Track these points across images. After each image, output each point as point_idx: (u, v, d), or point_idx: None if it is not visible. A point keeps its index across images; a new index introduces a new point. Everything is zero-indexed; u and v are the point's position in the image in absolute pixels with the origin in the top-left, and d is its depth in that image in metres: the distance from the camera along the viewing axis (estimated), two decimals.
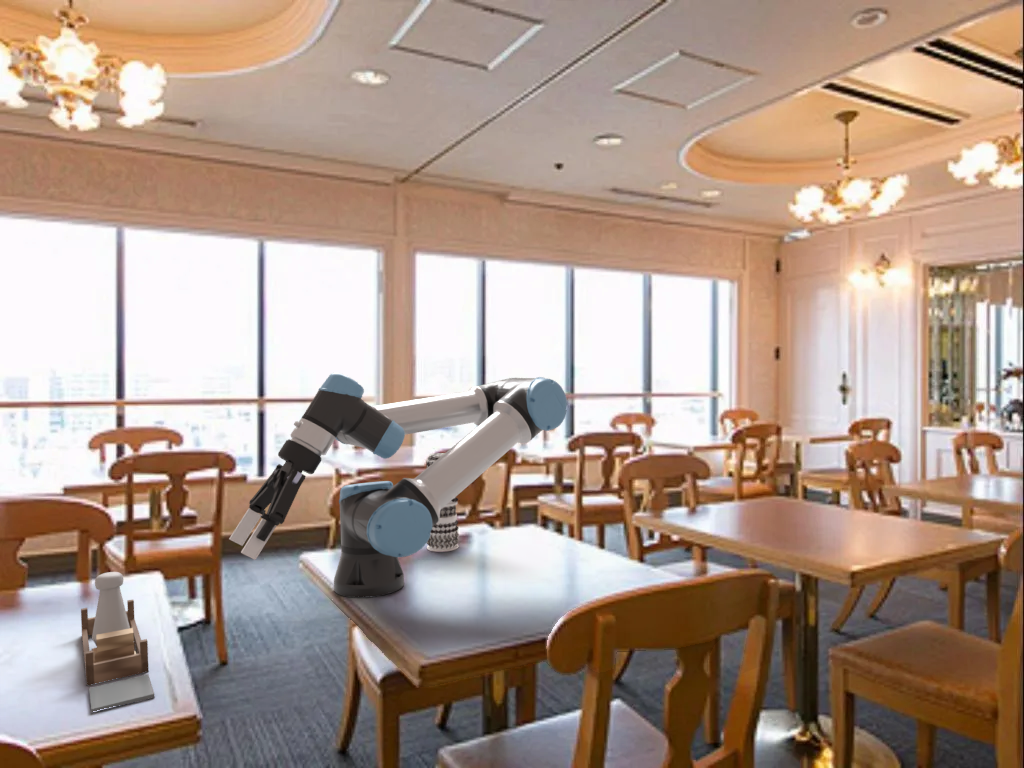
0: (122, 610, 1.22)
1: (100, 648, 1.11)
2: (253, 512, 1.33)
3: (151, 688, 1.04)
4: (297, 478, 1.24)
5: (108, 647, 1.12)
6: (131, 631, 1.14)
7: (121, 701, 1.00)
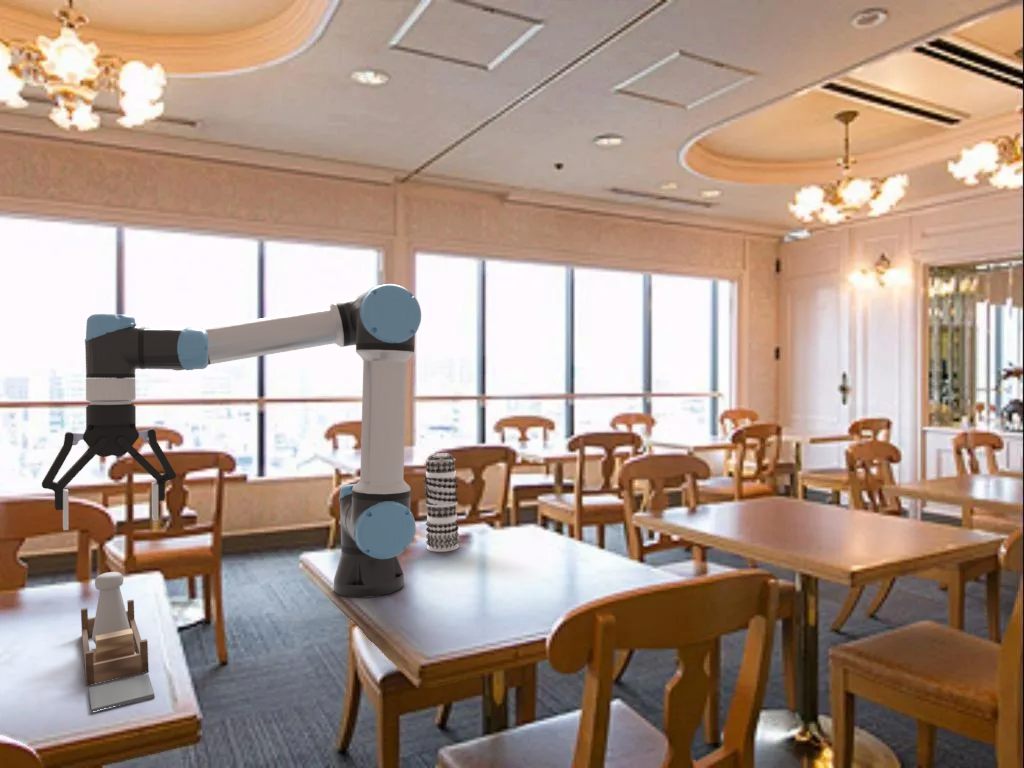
0: (122, 610, 1.22)
1: (100, 649, 1.11)
2: (152, 484, 1.25)
3: (151, 688, 1.04)
4: (64, 438, 1.17)
5: (108, 648, 1.12)
6: (130, 631, 1.14)
7: (121, 701, 1.00)
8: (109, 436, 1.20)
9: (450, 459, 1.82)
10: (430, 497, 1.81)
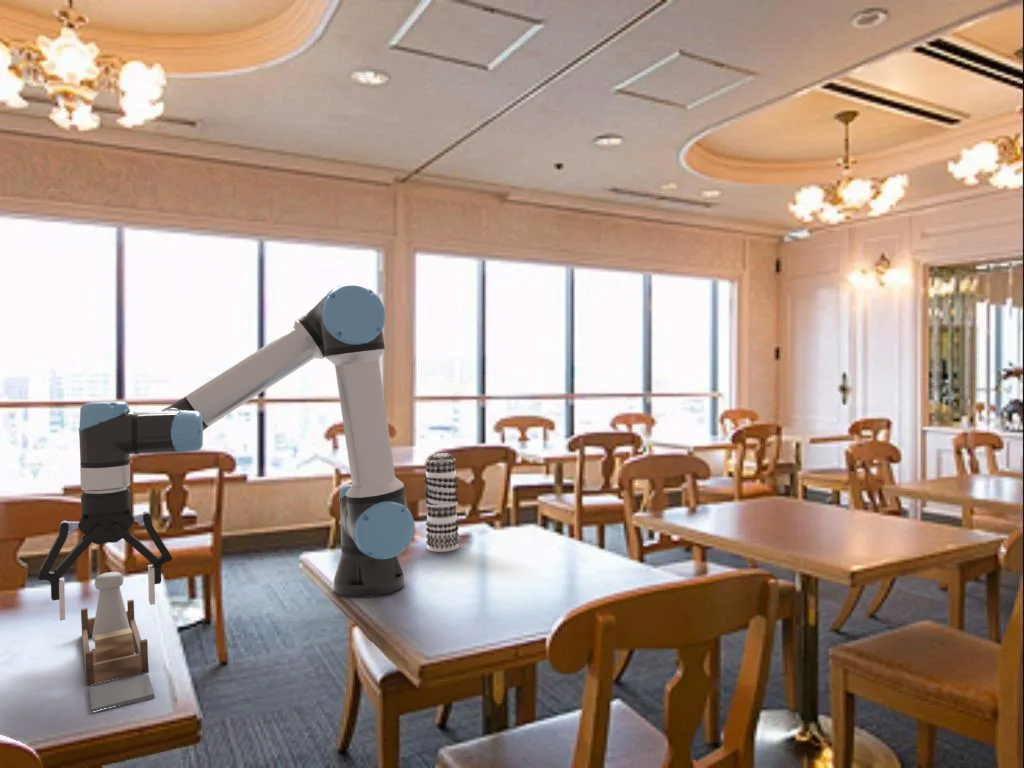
0: (122, 610, 1.22)
1: (99, 648, 1.11)
2: (148, 568, 1.26)
3: (151, 688, 1.04)
4: None
5: (108, 647, 1.12)
6: (130, 631, 1.14)
7: (121, 701, 1.00)
8: (104, 523, 1.20)
9: (450, 459, 1.82)
10: (430, 497, 1.81)
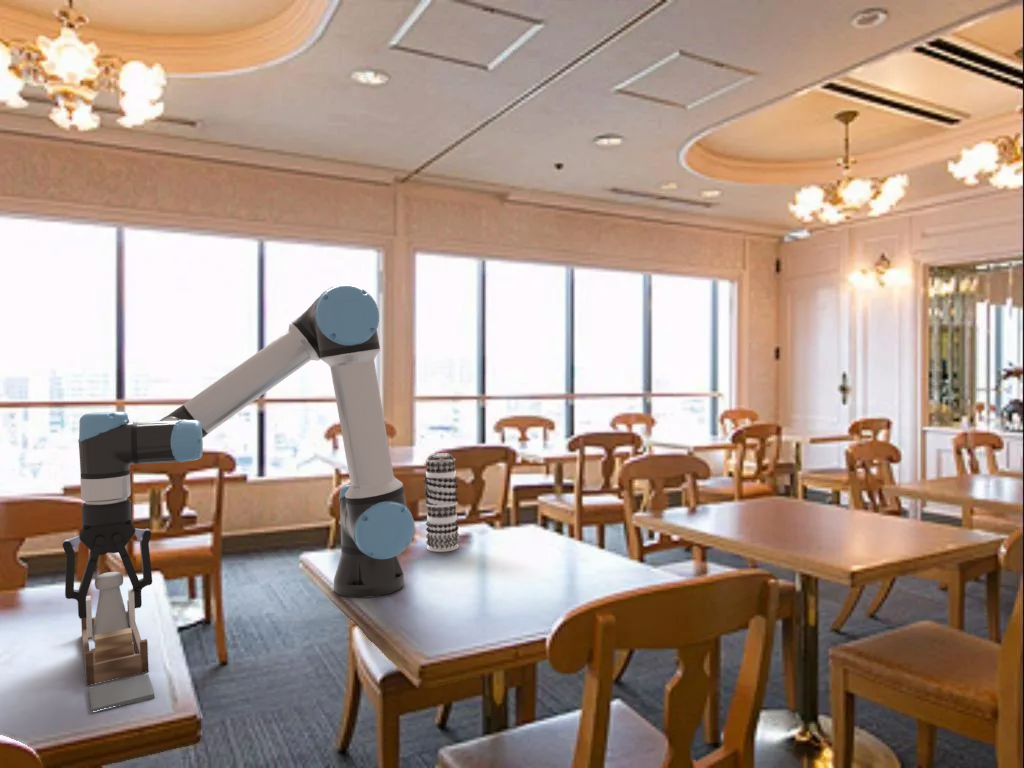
0: (122, 610, 1.22)
1: (99, 648, 1.11)
2: (128, 591, 1.24)
3: (151, 688, 1.04)
4: None
5: (107, 647, 1.12)
6: (129, 631, 1.14)
7: (121, 701, 1.00)
8: (104, 528, 1.20)
9: (450, 459, 1.82)
10: (430, 497, 1.81)
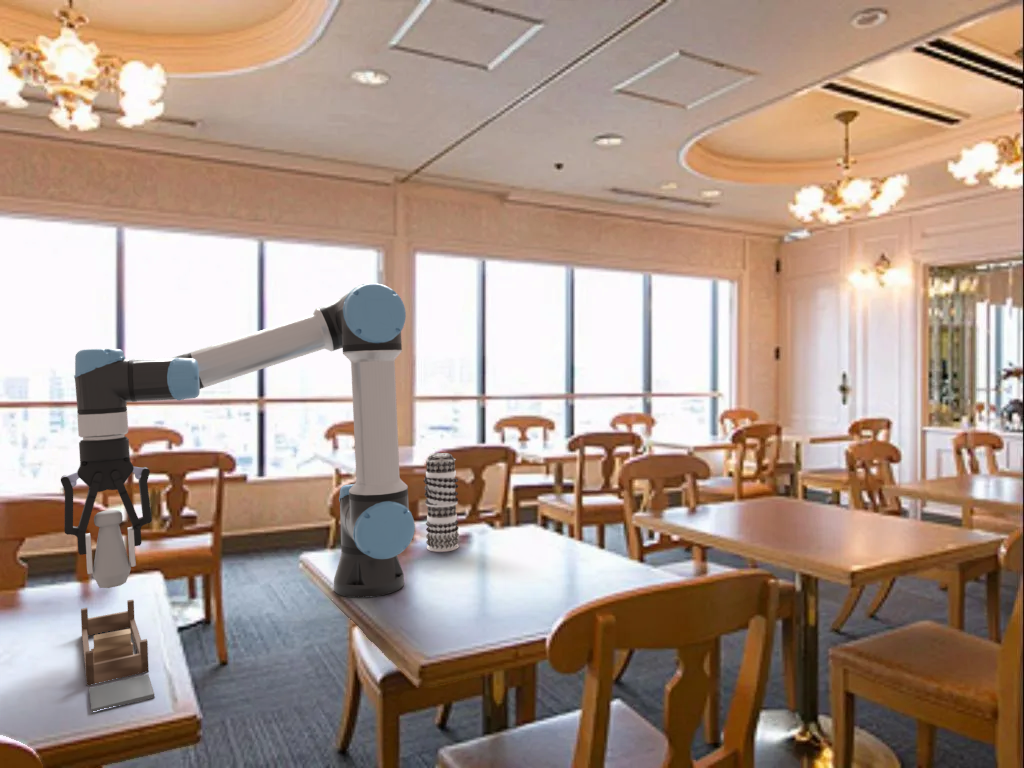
0: (122, 547, 1.22)
1: (97, 648, 1.11)
2: (128, 530, 1.24)
3: (151, 688, 1.04)
4: None
5: (106, 648, 1.12)
6: (128, 632, 1.14)
7: (121, 701, 1.00)
8: (102, 465, 1.20)
9: (450, 459, 1.82)
10: (430, 497, 1.81)
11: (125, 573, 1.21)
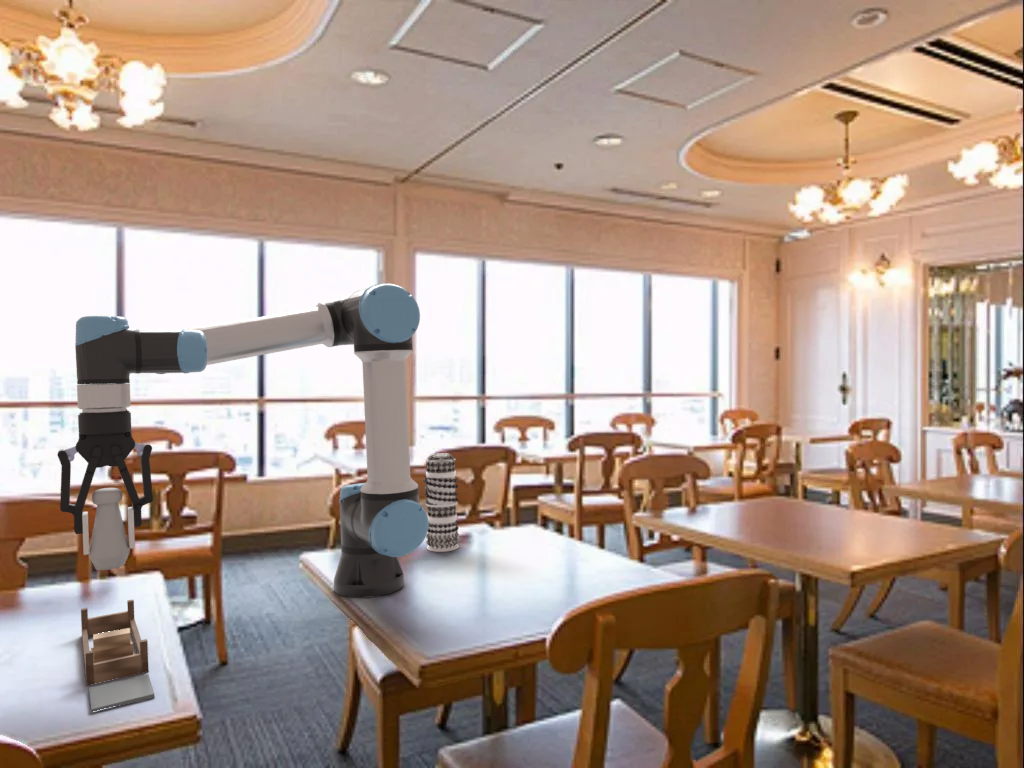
0: (121, 528, 1.15)
1: (97, 648, 1.11)
2: (128, 509, 1.16)
3: (151, 688, 1.04)
4: None
5: (105, 647, 1.12)
6: (128, 631, 1.14)
7: (121, 701, 1.00)
8: (101, 439, 1.13)
9: (450, 459, 1.82)
10: (430, 497, 1.81)
11: (123, 554, 1.14)
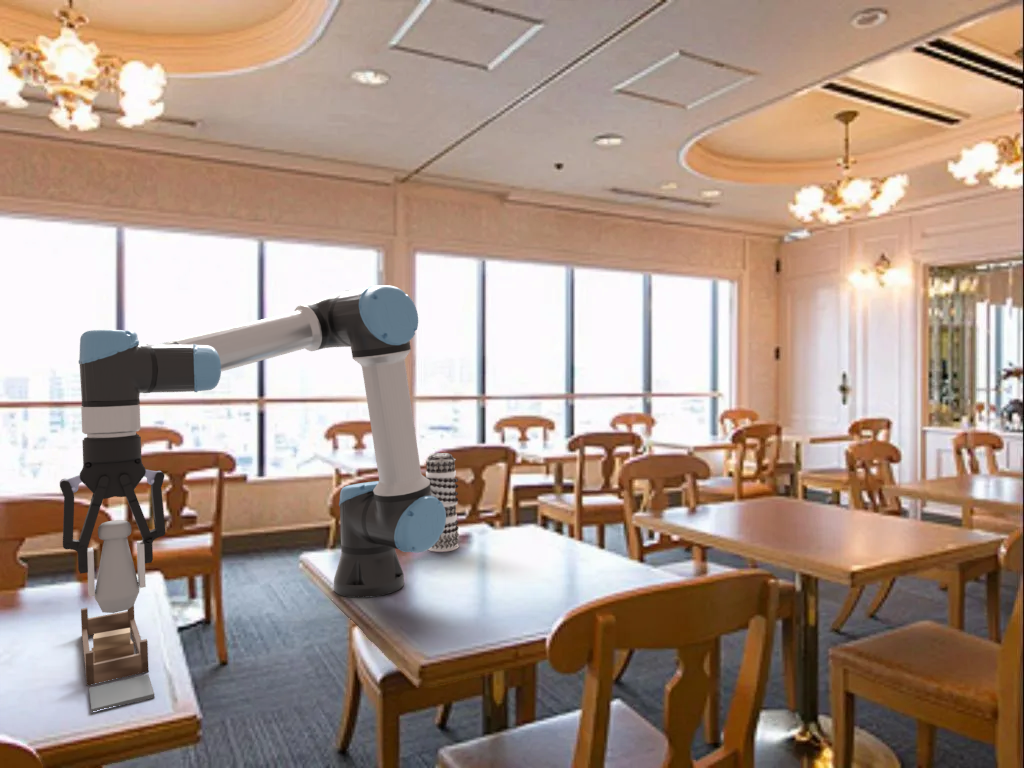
0: (130, 565, 1.03)
1: (97, 647, 1.11)
2: (137, 544, 1.05)
3: (151, 688, 1.04)
4: None
5: (105, 647, 1.12)
6: (128, 631, 1.14)
7: (121, 701, 1.00)
8: (109, 467, 1.02)
9: (450, 459, 1.82)
10: None
11: (133, 595, 1.03)
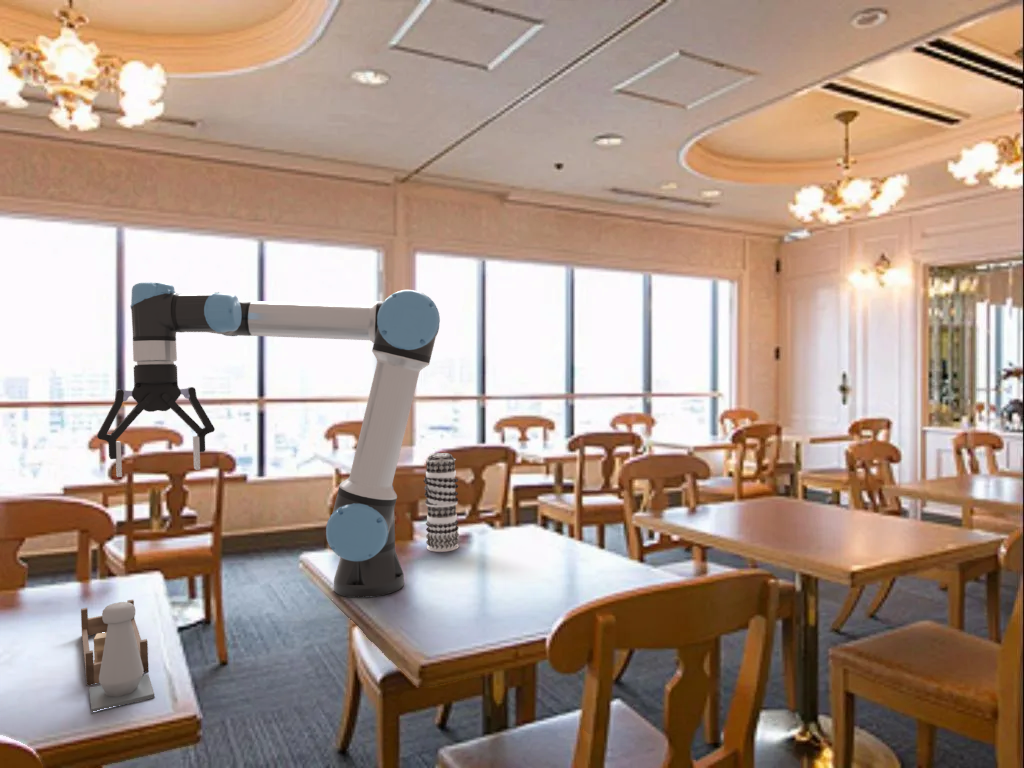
0: (134, 647, 1.04)
1: (97, 648, 1.11)
2: (193, 437, 1.39)
3: (151, 688, 1.04)
4: (116, 395, 1.31)
5: None
6: None
7: (121, 701, 1.00)
8: (155, 393, 1.34)
9: (450, 459, 1.82)
10: (430, 497, 1.81)
11: (137, 678, 1.03)
